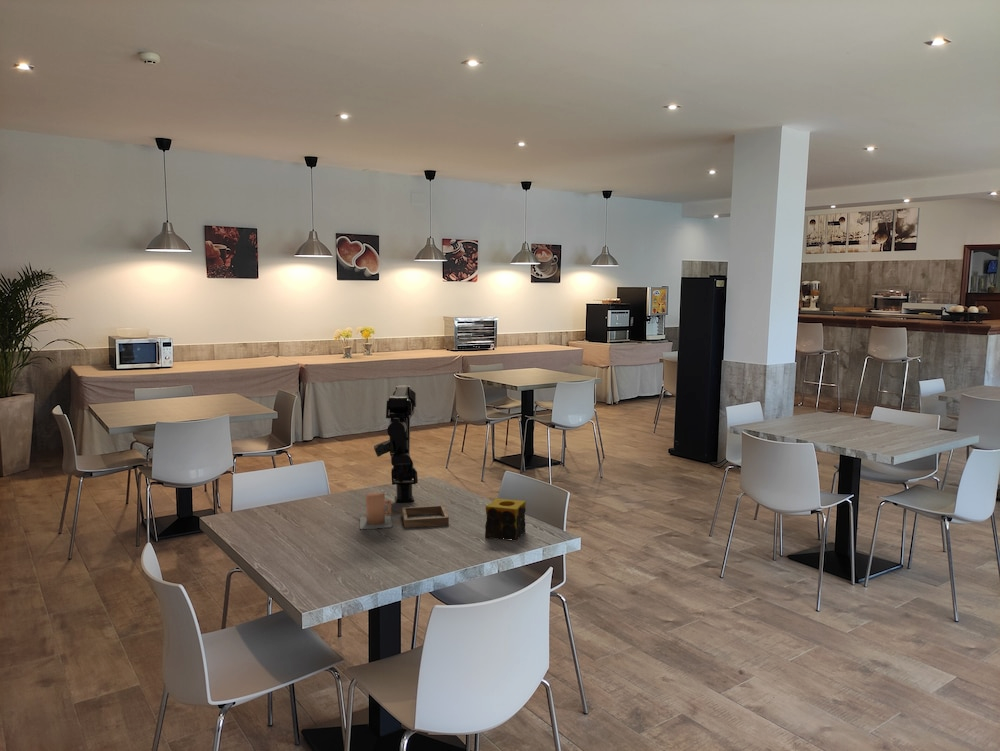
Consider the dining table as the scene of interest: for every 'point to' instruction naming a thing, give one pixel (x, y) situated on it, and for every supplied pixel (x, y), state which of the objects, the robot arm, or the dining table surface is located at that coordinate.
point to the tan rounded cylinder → (376, 508)
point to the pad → (368, 526)
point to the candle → (505, 519)
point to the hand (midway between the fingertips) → (400, 478)
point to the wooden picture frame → (425, 521)
